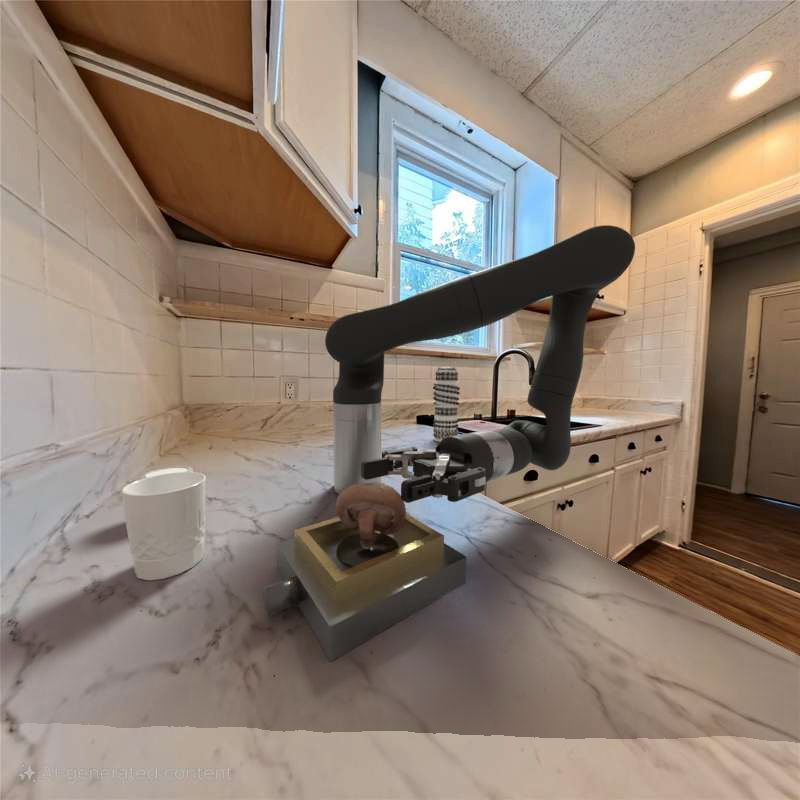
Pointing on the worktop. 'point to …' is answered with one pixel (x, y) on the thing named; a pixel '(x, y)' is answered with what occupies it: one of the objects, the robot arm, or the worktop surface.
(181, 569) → the white cup
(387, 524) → the mushroom
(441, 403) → the decorative candle
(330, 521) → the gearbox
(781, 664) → the worktop surface
